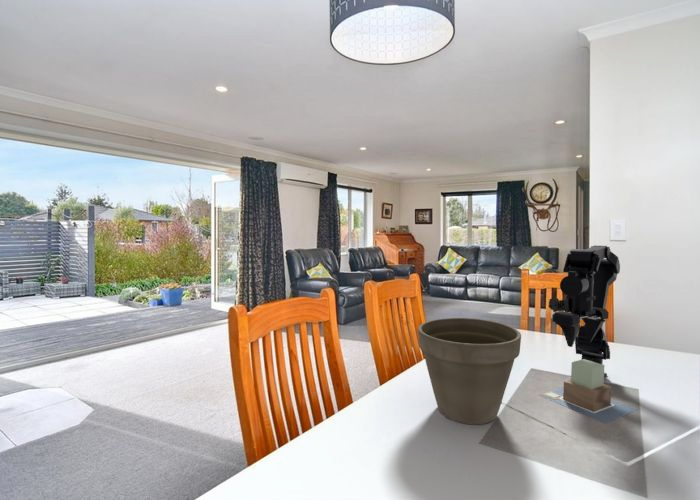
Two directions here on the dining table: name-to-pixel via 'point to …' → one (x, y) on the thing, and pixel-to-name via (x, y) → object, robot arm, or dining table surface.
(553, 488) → the dining table surface
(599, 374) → the sage cube
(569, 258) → the robot arm
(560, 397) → the board
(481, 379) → the plant pot
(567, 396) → the walnut base block
